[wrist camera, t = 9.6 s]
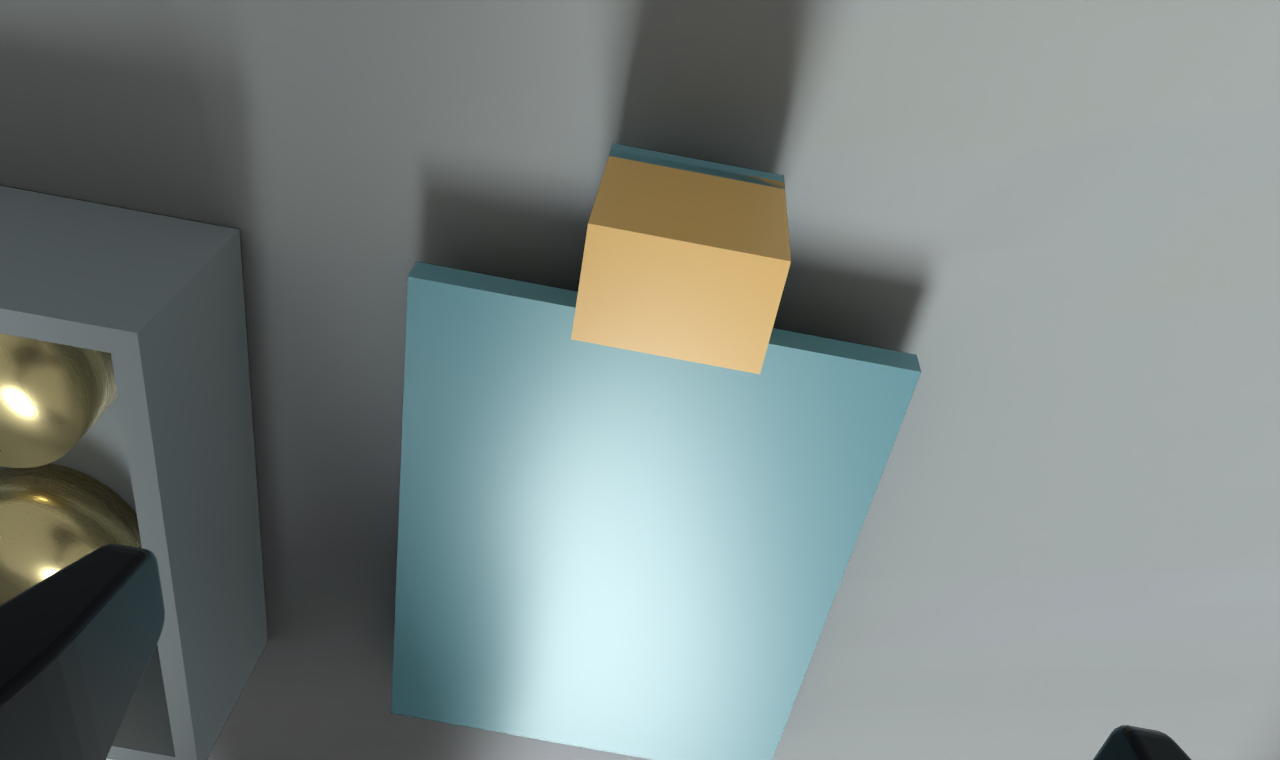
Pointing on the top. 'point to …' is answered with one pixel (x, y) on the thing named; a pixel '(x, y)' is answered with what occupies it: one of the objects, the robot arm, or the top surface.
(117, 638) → the robot arm
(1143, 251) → the top surface
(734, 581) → the lid
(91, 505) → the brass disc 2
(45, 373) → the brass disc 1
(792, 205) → the top surface
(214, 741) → the tub
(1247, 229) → the top surface
